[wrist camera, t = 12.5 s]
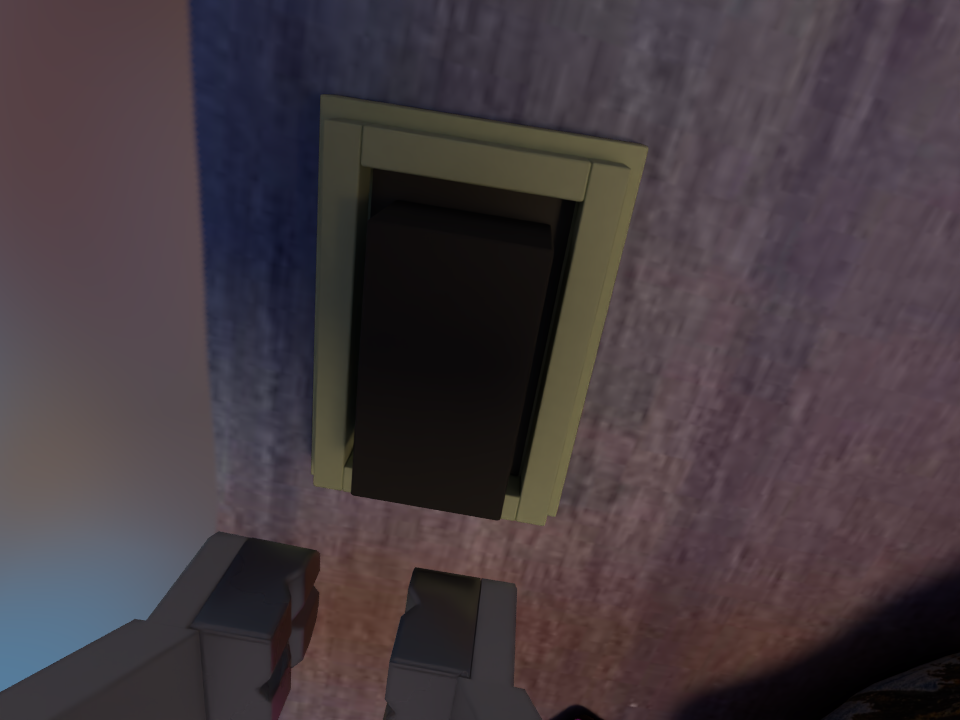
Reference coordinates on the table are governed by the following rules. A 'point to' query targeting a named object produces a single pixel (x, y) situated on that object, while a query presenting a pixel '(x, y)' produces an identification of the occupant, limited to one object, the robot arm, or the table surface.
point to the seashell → (909, 695)
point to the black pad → (445, 354)
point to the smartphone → (582, 717)
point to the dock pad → (487, 190)
